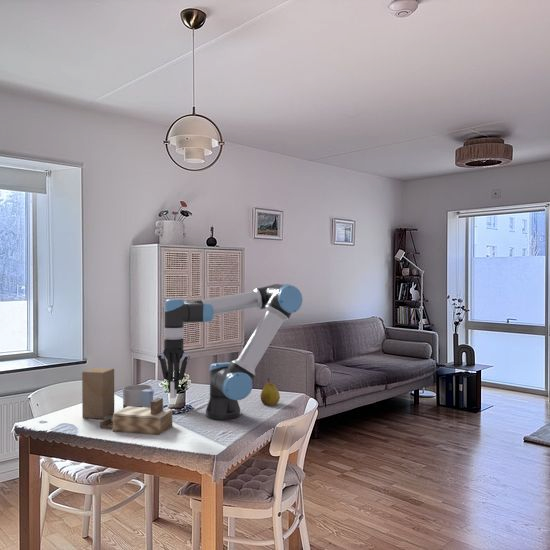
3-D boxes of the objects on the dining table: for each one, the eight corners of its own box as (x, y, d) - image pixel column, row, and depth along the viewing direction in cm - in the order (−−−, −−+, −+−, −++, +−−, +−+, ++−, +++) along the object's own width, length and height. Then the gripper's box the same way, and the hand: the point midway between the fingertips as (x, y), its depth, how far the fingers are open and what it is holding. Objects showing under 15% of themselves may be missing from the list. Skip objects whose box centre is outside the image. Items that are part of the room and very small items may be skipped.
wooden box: (172, 426, 214) (172, 411, 214) (159, 435, 202) (159, 419, 202) (128, 422, 219) (127, 408, 218) (112, 431, 207) (112, 416, 207)
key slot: (125, 424, 216) (125, 418, 216) (116, 429, 209) (116, 423, 209) (109, 423, 218) (109, 417, 218) (100, 428, 211) (100, 422, 211)
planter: (141, 415, 229) (141, 391, 229) (117, 413, 233) (117, 389, 233) (157, 408, 241) (157, 385, 241) (134, 405, 245) (134, 383, 245)
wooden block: (103, 419, 224) (102, 372, 223) (82, 417, 226) (81, 371, 225) (114, 412, 233) (114, 368, 233) (94, 411, 235) (94, 367, 235)
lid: (172, 411, 213) (171, 397, 213) (159, 418, 203) (159, 404, 202) (127, 408, 218) (127, 394, 218) (113, 415, 207) (113, 401, 207)
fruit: (276, 407, 242) (276, 381, 242) (258, 405, 245) (258, 380, 245) (282, 403, 250) (282, 378, 250) (264, 401, 253) (264, 376, 253)
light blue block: (155, 417, 226) (154, 389, 226) (151, 419, 223) (151, 391, 223) (144, 416, 227) (143, 389, 227) (140, 418, 224) (140, 391, 224)
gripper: (193, 337, 209) (192, 396, 209) (162, 336, 212) (162, 394, 212) (185, 339, 202) (185, 400, 202) (154, 338, 205) (154, 398, 205)
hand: (173, 397), depth 207 cm, fingers closed
